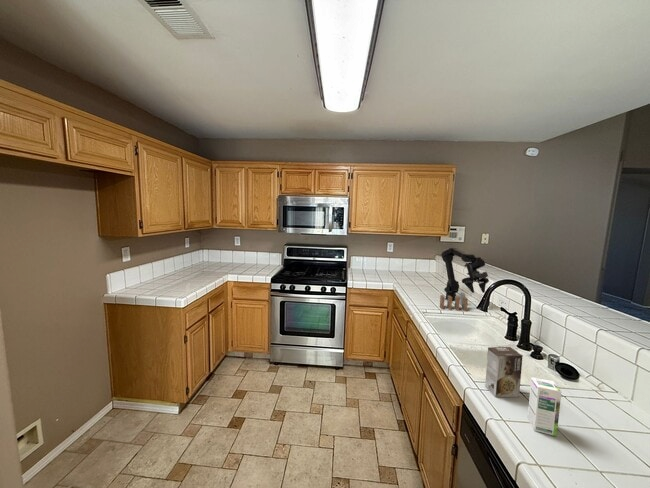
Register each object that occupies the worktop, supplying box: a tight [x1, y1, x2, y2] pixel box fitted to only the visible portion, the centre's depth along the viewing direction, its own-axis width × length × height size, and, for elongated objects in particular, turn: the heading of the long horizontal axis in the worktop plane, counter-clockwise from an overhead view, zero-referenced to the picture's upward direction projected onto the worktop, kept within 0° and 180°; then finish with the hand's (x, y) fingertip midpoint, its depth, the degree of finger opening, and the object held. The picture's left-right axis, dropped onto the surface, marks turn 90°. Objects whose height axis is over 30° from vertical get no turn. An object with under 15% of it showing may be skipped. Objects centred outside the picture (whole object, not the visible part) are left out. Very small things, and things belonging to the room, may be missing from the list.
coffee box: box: [484, 346, 523, 398], centre depth 98 cm, size 9×6×16 cm
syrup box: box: [527, 377, 562, 437], centre depth 81 cm, size 6×6×14 cm
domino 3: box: [453, 295, 461, 312], centre depth 187 cm, size 2×5×9 cm, turn 168°
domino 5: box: [461, 296, 469, 312], centre depth 186 cm, size 2×5×9 cm, turn 168°
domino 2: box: [446, 296, 453, 311], centre depth 188 cm, size 2×5×9 cm, turn 167°
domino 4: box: [459, 292, 466, 307], centre depth 197 cm, size 2×5×9 cm, turn 168°
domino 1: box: [439, 294, 446, 310], centre depth 189 cm, size 2×5×9 cm, turn 168°
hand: (478, 292), depth 180 cm, fingers open, 9 cm apart
